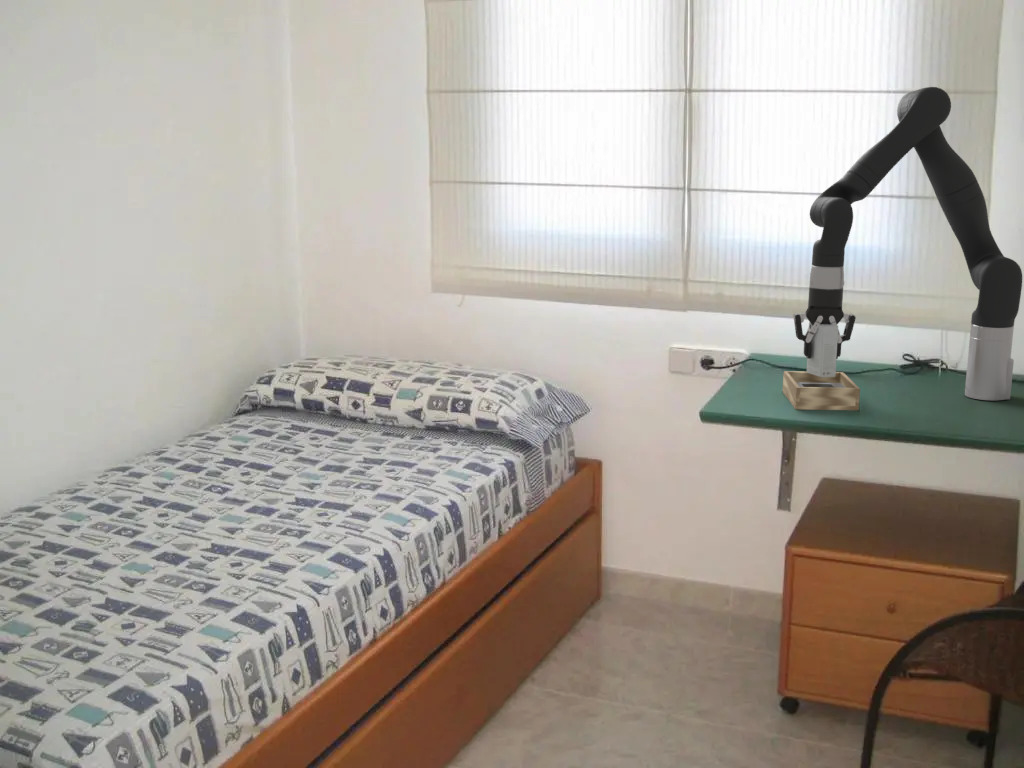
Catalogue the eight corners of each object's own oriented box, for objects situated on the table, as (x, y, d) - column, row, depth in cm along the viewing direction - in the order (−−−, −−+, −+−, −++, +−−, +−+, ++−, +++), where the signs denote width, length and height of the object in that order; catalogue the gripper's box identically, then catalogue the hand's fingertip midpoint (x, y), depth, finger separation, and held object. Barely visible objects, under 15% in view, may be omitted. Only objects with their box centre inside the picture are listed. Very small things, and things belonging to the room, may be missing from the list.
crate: (841, 392, 269) (842, 372, 268) (858, 410, 252) (860, 388, 250) (782, 391, 270) (783, 371, 269) (795, 409, 253) (796, 387, 251)
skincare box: (836, 377, 257) (840, 325, 255) (819, 378, 256) (824, 325, 253) (820, 371, 263) (825, 321, 261) (804, 372, 262) (808, 321, 259)
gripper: (854, 283, 258) (849, 355, 262) (791, 283, 259) (787, 354, 263) (862, 288, 251) (856, 362, 255) (797, 287, 252) (792, 360, 256)
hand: (821, 357), depth 259 cm, fingers closed on skincare box, 5 cm apart
